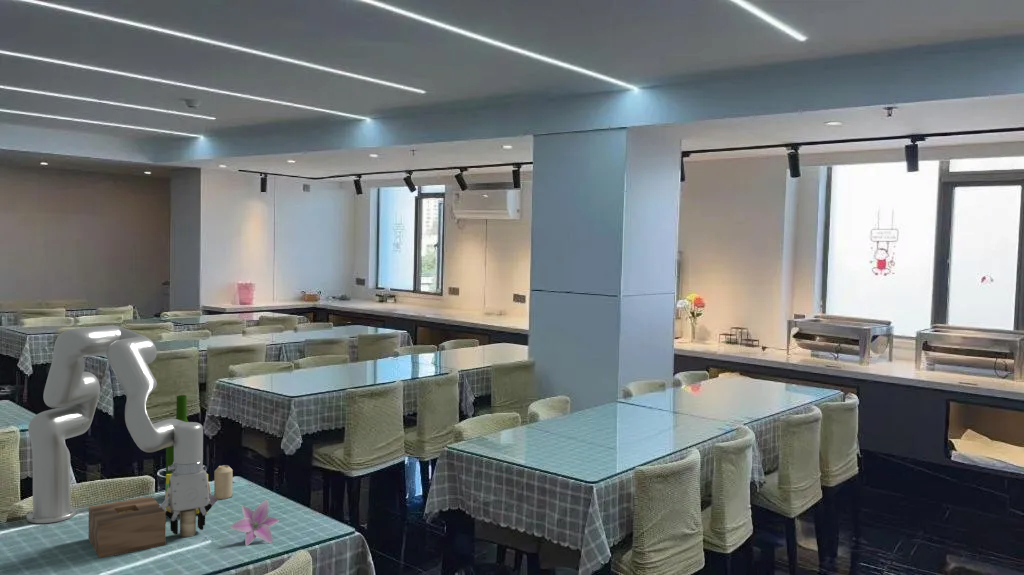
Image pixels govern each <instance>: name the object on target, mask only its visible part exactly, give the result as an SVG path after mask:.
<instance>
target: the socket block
mask: <svg viewBox="0 0 1024 575" xmlns="http://www.w3.org/2000/svg"><path fill="white" fill-rule="evenodd" d="M160 505H161V504H159V503H158V501H157V500H156V499H155V498H154V497H153V496H146V497H145V496H144V497H140V498H133V499H127V500H120V501H114V502H107V503H103V504H102V503H101V504H95V505H89V506H88V540H89V542H90V544H91V546H92V548H93V550H94V552H95V554H96V556H97V558H98V559H101V558H106V557H112V556H118V555H122V553H123V554H128V553H133V552H136V551H137V550H138V551H142V549H143V550H147V549H152V548H157V547H162V546H166V522H167V520H166V519H167V518H166V517H167V516H166V512H165V511H164V510H163V509H162V508H160V507H159V506H160ZM132 509H134V510H135V511H132V512H126V513H120V514H118V513H117V512H120V511H126V510H132Z"/></svg>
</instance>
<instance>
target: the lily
mask: <svg viewBox="0 0 1024 575" xmlns="http://www.w3.org/2000/svg"><path fill="white" fill-rule="evenodd" d="M269 505H270V503H269V500H268V499H266V500H264V501H262V502H261V503H260V504H259V505H258V506H257V507H256V508H255V509H254V510H253V509H251V508H250V507H248V506H246V505H242V506H241V512H242V515H243V518H240V519H238V520H237V521H235V522H233V523H232V524H231V525H230V526H229V528H230V529H232V530H234V531H238V532H242V533H245V537H244V538H245V539H244V540H245V546H249V545H250V544H251V543H252V542H253V541H254V540H255V539H256V538H259V539H261V540H262V541H264V542H267V543H269V544H273V542H274V541H273V535H272V531H271V527H272V526H274V525H276V524H278V523H279V522H280V519H279V518H277V517H273V516H269V510H270V508H269V507H270V506H269Z"/></svg>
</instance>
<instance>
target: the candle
mask: <svg viewBox="0 0 1024 575" xmlns="http://www.w3.org/2000/svg"><path fill="white" fill-rule="evenodd" d="M233 471H234V470H233V469H232V468H231V467H230V465H228V464H223V465H219V466H218V467H217V468H216V469H215V470H214V472H213V473H214V475H213V476H214V485H213V487H214V488H213V489H214V492H213V494H214V495H213V496H214V497H215V498H216V499H217V500H225V499H230V498H232V497H233V486H234V485H233Z"/></svg>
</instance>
